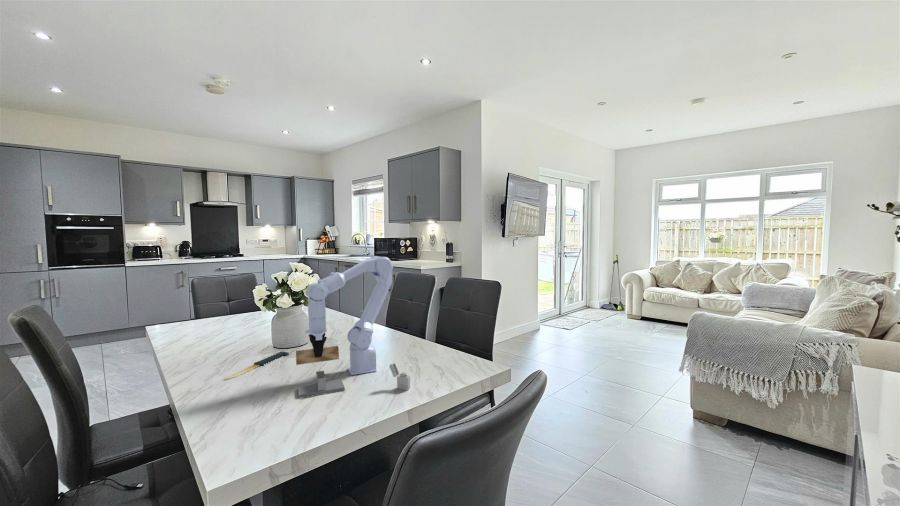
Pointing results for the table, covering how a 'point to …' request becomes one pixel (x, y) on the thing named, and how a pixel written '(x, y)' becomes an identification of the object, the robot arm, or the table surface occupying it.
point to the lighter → (400, 378)
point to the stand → (320, 386)
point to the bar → (309, 357)
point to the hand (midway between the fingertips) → (318, 355)
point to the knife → (258, 364)
